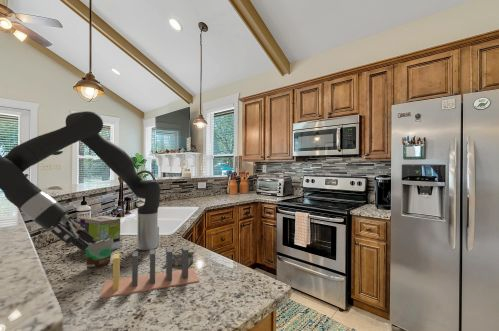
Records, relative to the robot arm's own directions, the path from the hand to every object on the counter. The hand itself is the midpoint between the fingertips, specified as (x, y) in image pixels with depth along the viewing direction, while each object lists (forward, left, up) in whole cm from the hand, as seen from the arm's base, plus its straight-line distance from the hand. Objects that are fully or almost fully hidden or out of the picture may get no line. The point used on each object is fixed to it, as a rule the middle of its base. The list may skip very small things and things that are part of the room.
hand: (89, 244), depth 80 cm
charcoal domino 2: (-13, +13, -15) cm, 24 cm away
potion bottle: (-37, -57, -15) cm, 69 cm away
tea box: (-33, -37, -15) cm, 51 cm away
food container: (-18, -17, -15) cm, 29 cm away
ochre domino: (-6, +5, -15) cm, 17 cm away
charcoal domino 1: (-10, +9, -15) cm, 20 cm away
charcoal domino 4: (-21, +21, -15) cm, 33 cm away
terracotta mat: (-13, +13, -15) cm, 24 cm away
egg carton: (-32, +11, -16) cm, 37 cm away
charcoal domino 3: (-17, +17, -15) cm, 28 cm away
